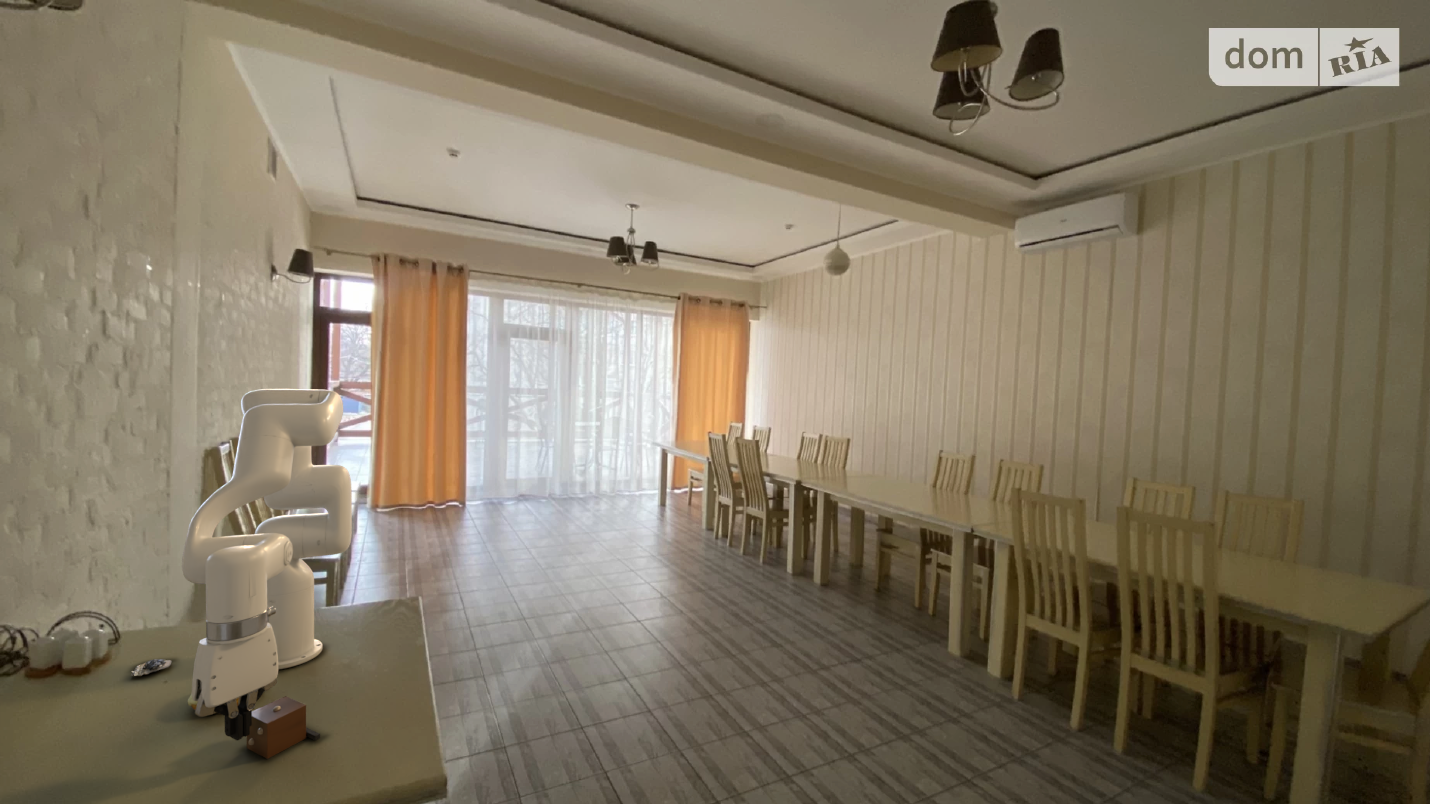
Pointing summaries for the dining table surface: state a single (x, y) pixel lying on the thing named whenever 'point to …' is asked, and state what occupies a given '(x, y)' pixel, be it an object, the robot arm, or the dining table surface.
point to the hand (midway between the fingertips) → (238, 735)
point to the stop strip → (312, 734)
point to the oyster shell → (151, 667)
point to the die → (277, 727)
